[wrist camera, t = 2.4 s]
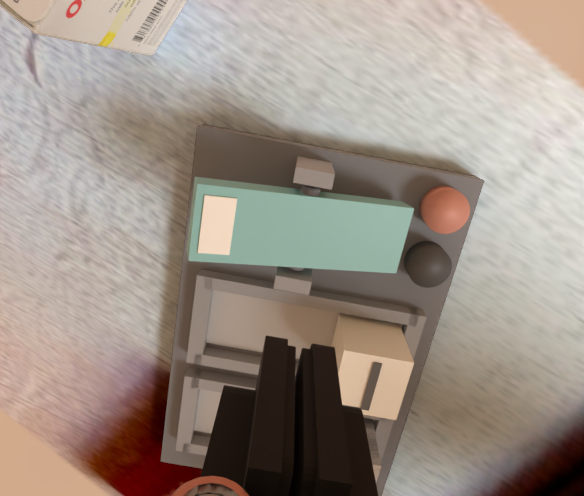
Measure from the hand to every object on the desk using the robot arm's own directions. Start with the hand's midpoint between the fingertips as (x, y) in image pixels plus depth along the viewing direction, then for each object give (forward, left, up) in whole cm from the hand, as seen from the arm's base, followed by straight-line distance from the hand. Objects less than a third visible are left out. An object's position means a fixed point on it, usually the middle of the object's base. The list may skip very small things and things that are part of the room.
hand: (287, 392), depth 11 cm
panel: (-2, +9, -19) cm, 21 cm away
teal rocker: (0, 0, -15) cm, 15 cm away
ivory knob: (-6, +8, -18) cm, 20 cm away
